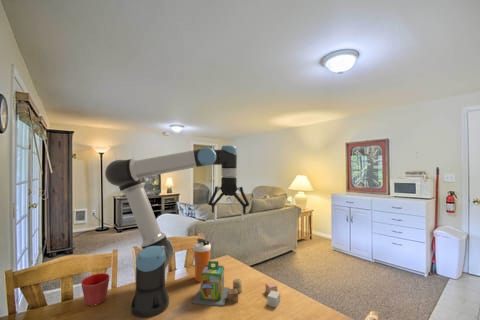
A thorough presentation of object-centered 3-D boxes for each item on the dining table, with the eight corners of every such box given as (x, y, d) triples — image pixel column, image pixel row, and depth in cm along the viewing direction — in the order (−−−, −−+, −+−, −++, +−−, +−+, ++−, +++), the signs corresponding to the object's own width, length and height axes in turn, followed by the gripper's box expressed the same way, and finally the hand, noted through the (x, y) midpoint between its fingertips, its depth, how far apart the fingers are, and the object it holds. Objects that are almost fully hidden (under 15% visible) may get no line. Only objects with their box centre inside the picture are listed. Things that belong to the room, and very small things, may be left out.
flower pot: (75, 309, 98) (75, 286, 98) (88, 295, 108) (88, 273, 108) (103, 307, 99) (103, 284, 99) (113, 293, 110) (113, 272, 110)
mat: (192, 303, 102) (192, 302, 102) (201, 286, 116) (201, 285, 116) (224, 306, 101) (224, 304, 101) (229, 288, 114) (229, 287, 114)
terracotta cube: (269, 296, 108) (269, 287, 108) (265, 291, 112) (265, 283, 112) (277, 294, 110) (277, 285, 110) (272, 290, 114) (272, 281, 114)
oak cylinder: (232, 293, 110) (232, 282, 110) (233, 289, 114) (233, 278, 114) (240, 294, 110) (241, 283, 110) (241, 289, 114) (242, 279, 114)
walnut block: (229, 303, 103) (229, 294, 103) (228, 298, 107) (228, 289, 107) (238, 302, 103) (238, 293, 104) (236, 297, 107) (236, 288, 107)
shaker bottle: (202, 273, 131) (202, 236, 131) (214, 277, 125) (214, 239, 126) (189, 279, 123) (190, 241, 124) (202, 284, 118) (202, 244, 118)
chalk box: (200, 299, 104) (200, 266, 104) (205, 288, 113) (205, 257, 113) (220, 301, 103) (221, 267, 103) (224, 289, 112) (224, 258, 112)
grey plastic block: (267, 305, 102) (267, 295, 102) (271, 299, 106) (271, 290, 106) (276, 307, 100) (276, 298, 100) (280, 301, 104) (280, 292, 104)
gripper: (202, 177, 115) (202, 220, 115) (253, 177, 112) (253, 222, 112) (206, 176, 122) (206, 217, 122) (254, 176, 119) (254, 218, 119)
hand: (228, 219), depth 117 cm, fingers open, 13 cm apart
